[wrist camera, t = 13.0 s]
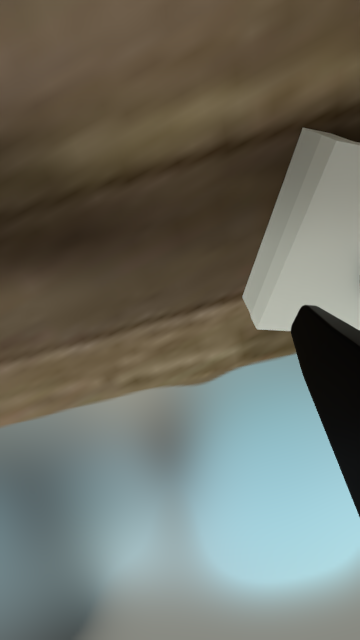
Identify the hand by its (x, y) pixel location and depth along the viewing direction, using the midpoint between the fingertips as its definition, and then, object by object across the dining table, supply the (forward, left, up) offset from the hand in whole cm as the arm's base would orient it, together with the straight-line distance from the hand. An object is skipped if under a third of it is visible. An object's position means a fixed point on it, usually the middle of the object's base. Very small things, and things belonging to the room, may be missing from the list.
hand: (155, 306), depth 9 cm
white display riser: (+15, -2, -13) cm, 20 cm away
